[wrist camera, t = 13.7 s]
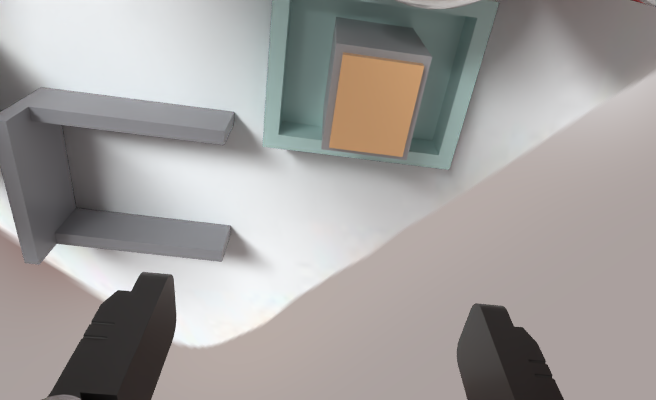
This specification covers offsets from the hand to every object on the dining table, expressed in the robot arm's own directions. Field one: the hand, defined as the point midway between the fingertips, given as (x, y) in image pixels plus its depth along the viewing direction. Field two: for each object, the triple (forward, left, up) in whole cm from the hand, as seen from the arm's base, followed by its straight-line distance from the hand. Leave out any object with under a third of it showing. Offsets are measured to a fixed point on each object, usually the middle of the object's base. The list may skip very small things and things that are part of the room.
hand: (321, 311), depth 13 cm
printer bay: (+10, -13, -23) cm, 28 cm away
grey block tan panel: (0, +3, -23) cm, 23 cm away
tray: (0, +3, -23) cm, 23 cm away
